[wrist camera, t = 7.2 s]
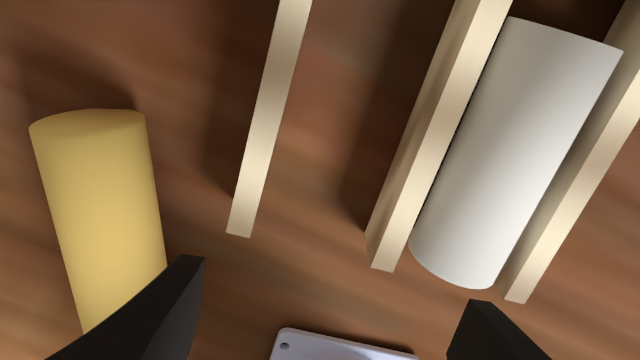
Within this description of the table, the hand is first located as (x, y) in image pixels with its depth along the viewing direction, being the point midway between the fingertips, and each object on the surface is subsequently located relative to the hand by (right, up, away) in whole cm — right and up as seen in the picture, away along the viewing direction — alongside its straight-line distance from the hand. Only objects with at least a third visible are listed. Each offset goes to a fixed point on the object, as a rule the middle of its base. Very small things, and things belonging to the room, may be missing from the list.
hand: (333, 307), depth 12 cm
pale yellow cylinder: (-9, +1, +7) cm, 12 cm away
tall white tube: (+7, +4, +6) cm, 10 cm away
